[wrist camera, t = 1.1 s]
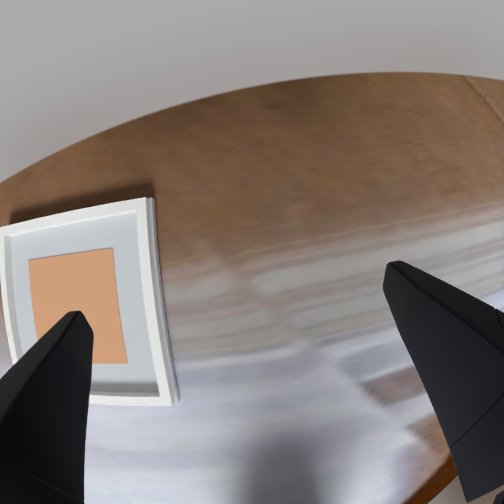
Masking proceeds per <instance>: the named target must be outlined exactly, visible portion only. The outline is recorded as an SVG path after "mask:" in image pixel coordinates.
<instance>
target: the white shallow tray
mask: <svg viewBox="0 0 504 504" xmlns="http://www.w3.org/2000/svg"><path fill="white" fill-rule="evenodd" d="M0 278H1V291H2V301H3V309H4V317H5V324H6V330H7V336H8V342H9V347H10V352H11V357H12V361H13V365H14V364H15V363H16V362H17V361H18V360H19V359H20V358H21V357H22V356H23V355H24V354H25V353H26V352H27V351H28V350H29V349H30V348H31V347H32V346H33V345H34V344H35V343H36V342H37V341H38V340H39V339H40V338H41V337H42V336H43V335H44V334H45V333H46V332H47V331H48V330H49V329H50V328H52V327H53V326H54V325H55V324H56V323H57V322H58V321H59V320H60V319H61V318H62V317H63V316H64V315H65V314H66V313H68V312H69V311H77V310H79V311H81V312H82V313H83V314H84V316H85V318H86V319H87V321H88V323H89V325H90V326H91V328H92V330H93V333H94V343H93V359H92V379H91V389H90V397H89V403H90V404H104V405H124V406H173V404H174V403H178V402H179V400H180V398H179V393H178V388H177V383H176V377H175V372H174V366H173V361H172V355H171V349H170V342H169V336H168V329H167V322H166V315H165V308H164V300H163V292H162V283H161V274H160V264H159V254H158V242H157V229H156V215H155V200H154V199H153V198H152V197H151V198H146V197H144V198H137V199H131V200H126V201H120V202H114V203H109V204H103V205H98V206H93V207H88V208H83V209H78V210H73V211H68V212H63V213H59V214H54V215H50V216H45V217H41V218H37V219H32V220H28V221H24V222H20V223H16V224H12V225H8V226H4V227H0Z"/></svg>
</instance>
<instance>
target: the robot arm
mask: <svg viewBox="0 0 504 504" xmlns="http://www.w3.org/2000/svg"><path fill="white" fill-rule="evenodd" d="M383 291H384V294H385V297H386V299H387V302H388V304H389V307H390V309H391V312H392V315H393V317H394V320H395V323H396V325H397V328H398V330H399V333H400V335H401V337H402V340H403V342H404V344H405V346H406V348H407V350H408V352H409V354H410V356H411V358H412V360H413V363H414V365H415V367H416V369H417V371H418V373H419V376H420V378H421V380H422V382H423V385H424V387H425V389H426V392H427V394H428V396H429V399H430V401H431V403H432V406H433V408H434V411H435V413H436V415H437V418H438V420H439V423H440V425H441V428H442V431H443V433H444V436H445V439H446V441H447V444H448V447H449V448H450V449H449V450H450V453H451V456H452V458H453V461H454V464H455V467H456V470H457V473H458V476H459V479H460V483H461V486H462V489H463V492H464V496H465V499H466V501H467V503H468V502H470V501H473V500H475V499H477V498H479V497H481V496H483V495H485V494H487V493H489V492H491V491H493V490H495V489H496V488H499V487H500V486H502V485H504V313H503V312H501V311H500V310H498V309H495V308H494V307H492V306H490V305H488V304H487V303H485V302H483V301H481V300H479V299H477V298H475V297H473V296H471V295H469V294H468V293H466V292H464V291H462V290H460V289H458V288H456V287H454V286H452V285H450V284H448V283H446V282H444V281H442V280H440V279H438V278H436V277H434V276H432V275H430V274H428V273H426V272H424V271H422V270H420V269H418V268H415V267H413V266H411V265H409V264H407V263H405V262H403V261H400V260H399V261H394V262H389V263H388V264H387V266H386V271H385V277H384V282H383ZM93 343H94V333H93V330H92V328H91V326H90V325H89V323H88V321H87V319H86V318H85V316H84V314H83V313H82V312H81V311H79V310H77V311H69V312H68V313H66V314H65V315H64V316H63V317H62V318H61V319H60V320H59V321H58V322H57V323H56V324H55V325H54V326H53V327H52V328H50V329H49V330H48V331H47V332H46V333H45V334H44V335H43V336H42V337H41V338H40V339H39V340H38V341H37V342H36V343H35V344H34V345H33V346H32V347H31V348H30V349H29V350H28V351H27V352H26V353H25V354H24V355H23V356H22V357H21V358H20V359H19V360H18V361H17V362H16V363H15V364H14V365H13V366H12V367H11V368H10V369H9V371H8V372H7V373H6V374H5V375H4V376H3V377H2V378H1V379H0V504H84V461H85V440H86V427H87V415H88V406H89V397H90V389H91V379H92V359H93ZM493 504H504V490H503V491H501V492H500V493H499V494H497V495H496V498H495V500H494V503H493Z"/></svg>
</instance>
